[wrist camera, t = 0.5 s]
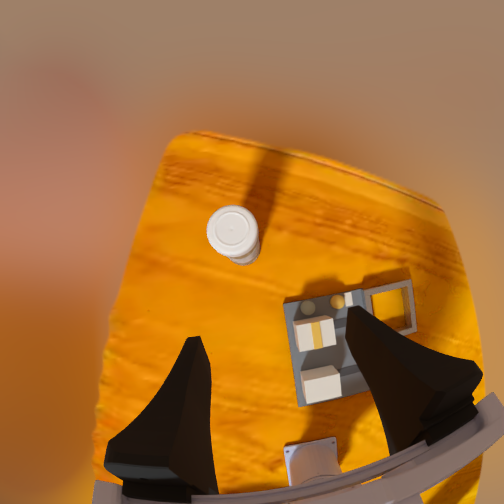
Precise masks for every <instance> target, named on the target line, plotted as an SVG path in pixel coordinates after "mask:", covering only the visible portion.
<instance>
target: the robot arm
mask: <svg viewBox="0 0 504 504" xmlns="http://www.w3.org/2000/svg"><path fill="white" fill-rule="evenodd" d="M345 339H346V342H347V345H348V347H349V350H350V352H351V355H352V357H353V358H354V360H355V362H356V364H357V366H358V368H359V370H360V372H361V373H362V375H363V377H364V379H365V381H366V383H367V385H368V386H369V389H370V391H371V393H372V395H373V398H374V401H375V404H376V406H377V409H378V412H379V415H380V418H381V421H382V425H383V428H384V432H385V435H386V440H387V444H388V448H389V453H390V456H389V457H387V458H384V459H382V460H379V461H377V462H374V463H371V464H369V465H366V466H363V467H360V468H358V469H355V470H352V471H349V472H345V473H342V471H341V468H340V466H339V464H338V461H337V442H336V437H329V438H325V439H320V440H316V441H311V442H306V443H300V444H294V445H288V446H285V447H284V454H285V461H286V467H287V473H288V479H289V485H290V487H284V488H278V489H272V490H265V491H257V492H249V493H238V494H222V495H219V491H218V486H217V480H216V475H215V468H214V461H213V453H212V444H211V433H210V406H211V383H212V381H211V368H210V362H209V359H208V356H207V354H206V351H205V348H204V346H203V343H202V340H201V337H200V336H195V337H188V338H187V339H186V341H185V343H184V345H183V348H182V350H181V352H180V354H179V356H178V358H177V360H176V362H175V364H174V366H173V368H172V369H171V371H170V373H169V375H168V376H167V378H166V380H165V381H164V383H163V385H162V386H161V388H160V389H159V391H158V392H157V394H156V395H155V396H154V398H153V399H152V400H151V402H150V403H149V404H148V405H147V406H146V408H145V409H144V410H143V411H142V412H141V413H140V414H139V415H138V416H137V417H136V418H135V419H134V420H133V421H132V422H131V423H130V424H129V425H128V426H127V427H126V428H125V429H124V430H122V431H121V432H120V433H119V434H117V435H116V436H115V437H113V438H112V439H111V440H109V442H108V445H107V449H106V454H105V460H104V467H105V468H106V470H108V471H109V472H110V473H112V474H113V475H115V476H116V477H118V478H120V479H121V480H123V486H121V485H118V484H115V483H109V482H104V481H100V480H96V481H95V485H94V492H93V500H92V504H423V501H422V499H421V496H420V493H422V492H424V491H426V490H428V489H429V488H431V487H433V486H435V485H436V484H438V483H440V482H441V481H443V480H445V479H446V478H448V477H449V476H451V475H452V474H454V473H455V472H457V471H458V470H460V469H461V468H463V467H464V466H466V465H467V464H468V463H470V462H471V461H472V460H474V459H475V458H476V457H478V456H479V455H480V454H482V453H483V452H484V451H486V450H487V449H488V448H489V447H490V446H492V445H493V444H494V443H495V442H496V441H497V440H498V439H499V438H500V437H502V436H503V435H504V407H503V405H502V404H501V402H500V401H499V399H498V398H497V396H496V395H495V394H494V392H492V393H490V394H489V395H488V396H486V397H485V398H484V399H482V400H481V401H480V402H478V403H477V404H476V405H474V404H473V401H474V397H473V396H472V393H473V392H474V390H475V389H476V387H477V386H478V384H479V383H480V381H481V379H482V376H483V372H482V371H481V370H480V368H479V367H478V366H477V364H476V363H475V362H474V361H472V360H467V359H461V358H456V357H453V356H449V355H445V354H442V353H439V352H437V351H434V350H431V349H429V348H427V347H424V346H422V345H420V344H418V343H416V342H414V341H412V340H410V339H408V338H406V337H405V336H403V335H401V334H400V333H398V332H396V331H395V330H393V329H392V328H390V327H389V326H387V325H386V324H384V323H383V322H382V321H380V320H379V319H377V318H376V317H375V316H373V315H372V314H370V313H369V312H368V311H366V310H365V309H364V308H362V307H361V306H359V305H357V306H353V307H349V308H348V311H347V322H346V332H345ZM333 441H334V442H333ZM332 442H333V443H332ZM287 450H288V452H286V451H287ZM381 475H383V476H382V477H381V478H382V479H378V480H375V481H372V482H369V483H366V484H363V485H361V483H363V482H366V481H369V480H371V479H374V478H376V477H379V476H381Z"/></svg>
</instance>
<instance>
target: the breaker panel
mask: <svg viewBox="0 0 504 504" xmlns="http://www.w3.org/2000/svg"><path fill="white" fill-rule="evenodd" d="M361 290H363V288H361V289H356V290H351V291H347V292H342V293H337V294H332V295H327V296H322V297H317V298H312V299H306V300H301V301H295V302H290V303H284V304H283V306H284V313H285V319H286V325H287V332H288V338H289V345H290V352H291V358H292V365H293V372H294V379H295V386H296V393H297V400H298V406H299V407H302V406H307V405H312V404H317V403H321V402H326V401H330V400H334V399H339V398H343V397H346V396H350V395H354V394H358V393H361V392H365V391H368V390H370V389H369V386H368V385H367V383H366V381H365V379H364V377H363V375H362V373H361V372H360V370H359V368H358V366H357V364H356V362H355V360H354V358H353V357H352V355H351V352H350V350H349V347H348V345H347V342H346V339H345V332H346V322H347V311H348V308H349V307H353V306H357V305H359V306H361V307H362V308H363V301H362V294H361ZM323 315H327V316H329V317H331V318H333V322H334V330H335V337H336V345H331V346H327V347H323V348H319V349H313V350H308V351H302V352H300V351H299V349H298V347H297V345H296V340H295V333H294V327H293V321H297V320H303V319H308V318H313V317H318V316H323ZM329 365H333V366H334V368H335V369H336V370H337V371H338V372H339V373H340V383H341V394H342V396H340V397H336V398H332V399H328V400H323V401H319V402H314V403H309V404H307V403H306V400H305V397H304V394H303V390H302V382H301V375H300V371H305V370H310V369H315V368H320V367H325V366H329Z"/></svg>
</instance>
